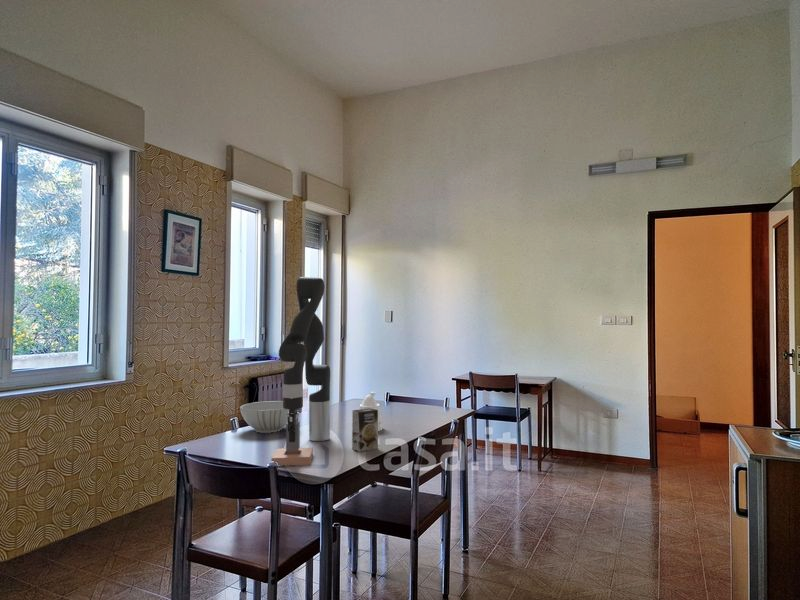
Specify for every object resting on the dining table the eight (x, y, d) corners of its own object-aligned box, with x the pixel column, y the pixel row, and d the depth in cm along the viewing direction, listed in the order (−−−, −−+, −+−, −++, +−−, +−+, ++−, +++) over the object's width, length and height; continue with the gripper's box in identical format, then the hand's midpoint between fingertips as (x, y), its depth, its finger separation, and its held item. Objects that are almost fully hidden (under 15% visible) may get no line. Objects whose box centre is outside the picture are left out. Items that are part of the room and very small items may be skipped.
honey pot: (384, 426, 257) (383, 390, 258) (380, 432, 244) (380, 394, 245) (358, 426, 258) (358, 390, 259) (354, 431, 245) (353, 394, 246)
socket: (276, 456, 203) (276, 448, 203) (312, 455, 204) (312, 447, 204) (271, 466, 189) (271, 458, 189) (309, 465, 190) (309, 456, 190)
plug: (287, 447, 199) (287, 421, 199) (299, 447, 199) (299, 421, 200) (286, 450, 194) (286, 424, 195) (298, 450, 195) (298, 423, 195)
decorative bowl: (269, 439, 232) (269, 412, 233) (227, 433, 245) (227, 407, 246) (307, 427, 256) (307, 403, 256) (267, 422, 269) (267, 399, 269)
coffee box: (359, 452, 208) (359, 412, 208) (351, 449, 213) (351, 409, 214) (378, 448, 213) (378, 409, 214) (370, 445, 218) (370, 407, 219)
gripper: (285, 393, 204) (285, 436, 204) (280, 398, 190) (280, 445, 189) (304, 392, 205) (304, 436, 204) (301, 398, 191) (301, 444, 190)
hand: (293, 440), depth 197 cm, fingers closed on plug, 4 cm apart
